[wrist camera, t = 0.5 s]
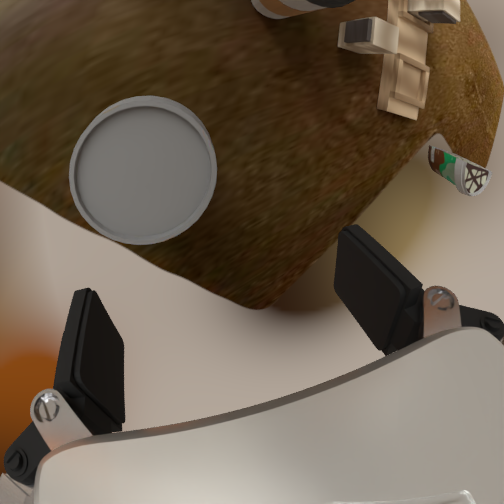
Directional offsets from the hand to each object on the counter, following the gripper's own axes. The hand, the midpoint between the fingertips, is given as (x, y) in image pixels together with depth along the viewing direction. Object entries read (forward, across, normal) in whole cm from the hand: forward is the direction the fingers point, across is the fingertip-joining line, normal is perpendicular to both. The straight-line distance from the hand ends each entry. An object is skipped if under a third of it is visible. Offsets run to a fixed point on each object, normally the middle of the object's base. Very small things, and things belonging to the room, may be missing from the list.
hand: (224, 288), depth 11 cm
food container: (+29, -47, +9) cm, 56 cm away
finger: (+29, -25, -13) cm, 40 cm away
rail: (+29, -36, -14) cm, 48 cm away
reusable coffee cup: (+29, +4, -1) cm, 29 cm away
